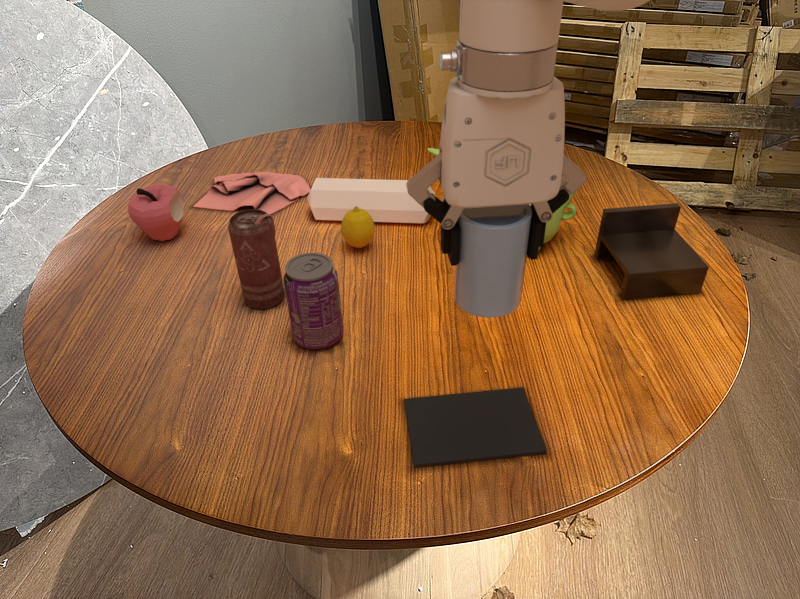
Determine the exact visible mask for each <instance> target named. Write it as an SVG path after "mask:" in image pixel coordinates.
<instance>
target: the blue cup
mask: <svg viewBox="0 0 800 599" xmlns="http://www.w3.org/2000/svg"><path fill="white" fill-rule="evenodd" d="M531 217H532V209H531V207H530V206H529V204H523V205H510V206H497V207H482V208H464V210H463V212H462V213H461V215H460V217H459V219H458V220H457V223H458V225H459V228H460V250H459V264H457V266H454V274H453V275H454V276H453V277H454V278H453V300H454V302H455V304H456V305H457V306H458V307H459V308H460V309H461V310H462V311H464V312H466V313H467V314H470V315H472V316H476V317H480V318H488V319H489V318H500V317H505V316H507V315H510V314H512V313H513V312H515V311H516V310H518V308H519V307H520V305H521V303H522V299H523V298H522V297H523V291H524V283H525V282H524V281H525V274H526V266H527V258H528V256H527V250H528V242H529V234H530V225H531Z"/></svg>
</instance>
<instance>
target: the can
mask: <svg viewBox="0 0 800 599" xmlns="http://www.w3.org/2000/svg"><path fill="white" fill-rule="evenodd" d="M274 220H275V219H274V217H273V215H272V214H268V213H266V212H265V211H262V210H257V209H250V210H244V211H241V210H240V211H238V212H236V213H235V214H233V215H232V216H231V217H230V218H229V223H228V225H227V229H228V234H229V239H230V243H231V247H232V251H233V257H234V260H235V261H234V262H235V265H236V270H237V274H238V278H239V284H240V288H241V291H242V296H243V300H244V303H245V304H246V305H247V306H248V307H250V308H252V309H255V310H268V309H272V308H274V307H276V306H278V305H279V304H280V303H281V302H282V301H283V299H284V297H285V295H286V294H285V288H284V281H283V276H282V270H281V263H280V259H279V252H278V246H277V240H276V224H275V221H274Z"/></svg>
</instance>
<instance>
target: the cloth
mask: <svg viewBox="0 0 800 599" xmlns="http://www.w3.org/2000/svg"><path fill="white" fill-rule="evenodd" d="M213 181H214V184H215V185H212V186H211V187H210V188H209V190H208V192H207V193H206V194H205V195H204V196H203V197H201V199H199V200H198V201H197V202H196V203H195V204H194V205H192V208H198V209H199V208H200V209H207V210H217V211H227V212H229V211H230V212H235V211H236V210H238V209H239V208H240V209H239V210H240V212H241V211H244V210H250V209H257V210H262V211H265V212H266V213H268V214H271V215H272V214H275V213H277V212H278V211H281V210H283V209H284V208H286V207H288V206H290V205H291V204H294V203H296V202H297V201H298V200H299V198H300V197H304V196H306V195H309V192H310V190H311V187H310V185H309V183H308V182H307V180H306V179H305V178H304V177H302V176H301V175H300V174H289V173H279V172H273V171H255V172H243V173H231V174H227V175H219V176H215V177H214V178H213ZM217 183H218V184H219V185H216V184H217Z"/></svg>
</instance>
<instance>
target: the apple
mask: <svg viewBox="0 0 800 599" xmlns="http://www.w3.org/2000/svg"><path fill="white" fill-rule="evenodd" d="M127 205H128V206H127V213H128V216H129V218H130V220H132V222H133V223H134V224H135V225H136V226H137V227H138V228H139V229H140V230H141V231H142V232H143V233H145V234H146V235H147V236H148V237H149V238H150V239H151V240H152V241H160V242H164V241H167V240H173V239H174V238H175V237H176V235H178V232H179V229H180V225H181V223H182V221H183V218H184V215H185V201H184V197H183V194H182V193H181V192H180V190H178V189H177V188H176V187H175V186H174V185H173V184H158V183H157V184H154V185H150V186H147V187H144V188H139V187H138V188H137V189H136V193H135V194H134V195H133V196H132V197H131V198H129V201H128V204H127Z"/></svg>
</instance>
